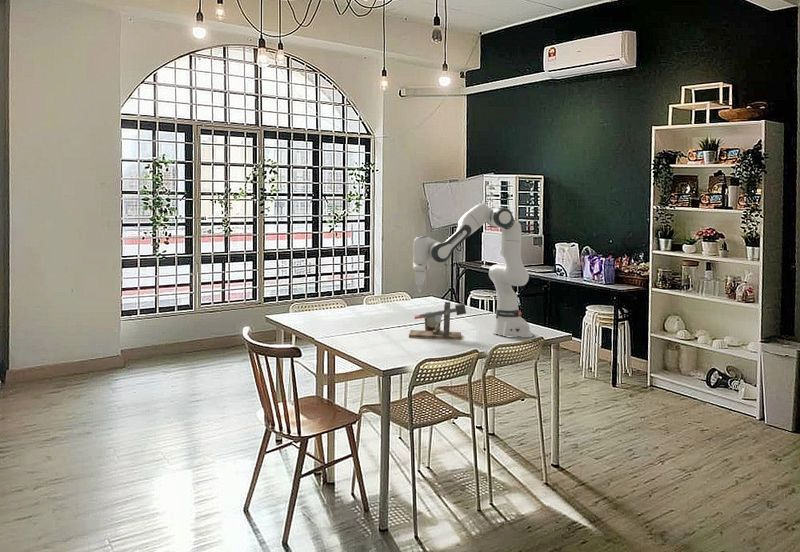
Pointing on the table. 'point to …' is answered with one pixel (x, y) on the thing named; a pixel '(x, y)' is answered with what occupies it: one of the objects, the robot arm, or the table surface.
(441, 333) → the toy catapult
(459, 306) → the lever
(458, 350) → the table surface
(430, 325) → the food container
